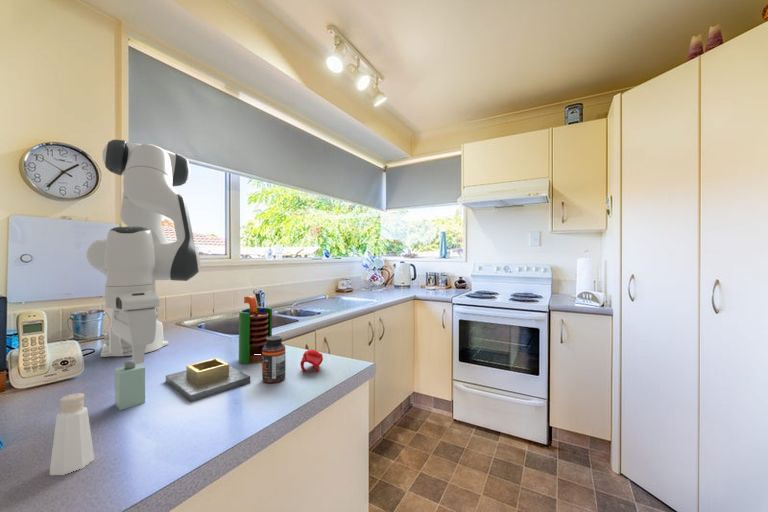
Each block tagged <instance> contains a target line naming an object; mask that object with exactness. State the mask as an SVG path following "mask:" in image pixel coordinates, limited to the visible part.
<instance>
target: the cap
mask: <svg viewBox="0 0 768 512" xmlns="http://www.w3.org/2000/svg"><path fill="white" fill-rule="evenodd" d="M323 360H324V358H323V354H322V353H320V352H319V351H317V350H315V349H308V350H306V351H305V352H304V353H303V354H302V358H301V360H300V364H299V365H300V368H301V370H302V371H303V372H305V371H306V368H305V363H308V364H311V365H312V366H313V367H314V368H315V371H316V373H319V371H320V369H319V366H321V364H322V363H323Z"/></svg>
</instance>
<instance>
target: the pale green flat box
mask: <svg viewBox="0 0 768 512" xmlns="http://www.w3.org/2000/svg"><path fill="white" fill-rule="evenodd" d="M123 365H124V366H119V367H115V368H114V405H115V406H116V407H117V409H118V410H119V411H122V410H124V409H129V408H131V407H134V406H138V405H141V404H144V403H146V367H145V366H144V365H143V363H140V364H134V363H133V362H132V359H128V360H125V361H124V363H123Z"/></svg>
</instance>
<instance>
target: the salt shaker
mask: <svg viewBox="0 0 768 512" xmlns="http://www.w3.org/2000/svg"><path fill="white" fill-rule="evenodd" d="M84 398H85V394H84V393H79V392H78V393H71V394H68V395H65V396H63V397H61V398H60V399H59V404H60V405H59V406H60V412H59V413H57V414H56V419H55V424H54V425H55V426H54V433H53V435H54V436H53V441H52V442H53V443H52V449H51V457H50V458H51V459H50V465H49V475H50V476H66V475H68V473H69V474H72V473H73V471H74V472H76V470H77V471H80V470H82V469H84V468H85V467H87V466H88V465H89V464H90V462H91V463H92V462H93V461H94V460H95V452H94V446H93V439H92V433H91V432H92V431H91V423H90V418H89V411H88V407H86V406H84V404H85V402H84V401H85V399H84ZM86 465H87V466H86ZM79 469H80V470H79ZM71 472H72V473H71ZM65 474H66V475H65Z"/></svg>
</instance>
